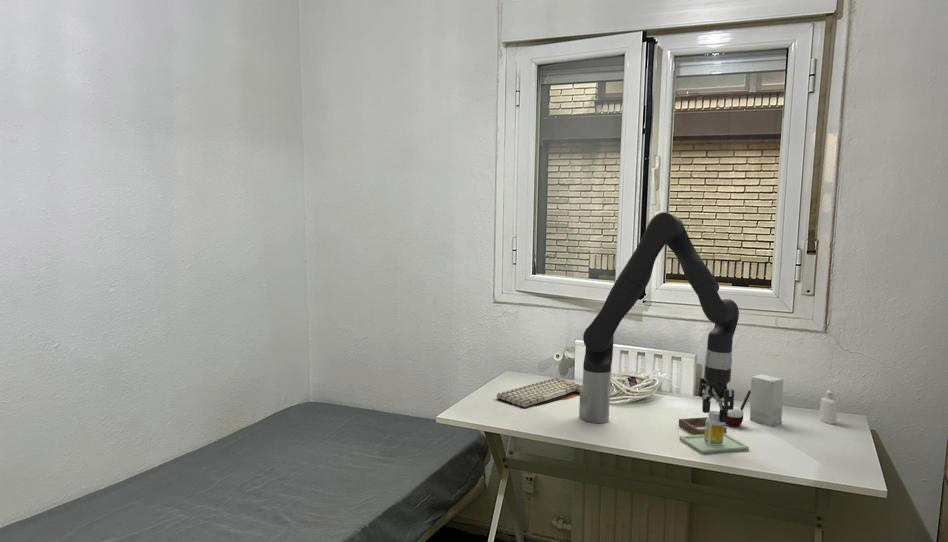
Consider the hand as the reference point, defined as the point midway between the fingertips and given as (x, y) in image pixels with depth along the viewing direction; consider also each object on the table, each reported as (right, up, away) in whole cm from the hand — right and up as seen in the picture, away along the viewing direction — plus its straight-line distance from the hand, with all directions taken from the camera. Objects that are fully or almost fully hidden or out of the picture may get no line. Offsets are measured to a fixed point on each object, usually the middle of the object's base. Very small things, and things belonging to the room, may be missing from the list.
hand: (714, 417), depth 196 cm
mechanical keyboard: (-47, -4, +50) cm, 68 cm away
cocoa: (+14, -7, +20) cm, 26 cm away
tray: (0, -9, +1) cm, 9 cm away
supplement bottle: (0, -8, +1) cm, 8 cm away
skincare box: (+26, -7, +24) cm, 36 cm away
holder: (+1, -8, +14) cm, 16 cm away
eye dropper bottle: (+49, -8, +26) cm, 55 cm away
